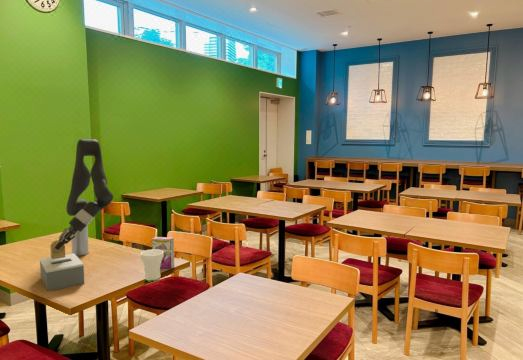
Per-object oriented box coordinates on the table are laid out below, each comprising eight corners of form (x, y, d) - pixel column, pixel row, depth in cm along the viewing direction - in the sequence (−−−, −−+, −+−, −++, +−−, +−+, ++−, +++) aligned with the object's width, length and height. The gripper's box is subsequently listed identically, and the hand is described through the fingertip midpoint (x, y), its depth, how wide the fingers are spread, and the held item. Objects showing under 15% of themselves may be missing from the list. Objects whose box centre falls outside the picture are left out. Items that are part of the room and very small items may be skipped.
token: (50, 258, 188) (50, 241, 187) (64, 255, 192) (63, 239, 191) (51, 259, 186) (50, 242, 185) (65, 257, 190) (64, 240, 189)
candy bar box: (151, 268, 210) (151, 239, 208) (155, 264, 215) (154, 236, 213) (171, 268, 209) (171, 239, 207) (174, 265, 214) (174, 237, 212)
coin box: (41, 278, 194) (39, 259, 193) (75, 271, 204) (74, 253, 203) (47, 291, 179) (46, 270, 177) (84, 283, 188) (83, 263, 187)
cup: (157, 273, 202) (156, 247, 200) (168, 279, 194) (167, 252, 192) (137, 279, 194) (136, 252, 192) (147, 285, 186) (147, 257, 184)
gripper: (72, 213, 197) (46, 240, 191) (78, 218, 186) (51, 247, 180) (83, 222, 201) (59, 248, 195) (90, 227, 190) (64, 255, 184)
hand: (55, 247), depth 188 cm, fingers closed on token, 2 cm apart
